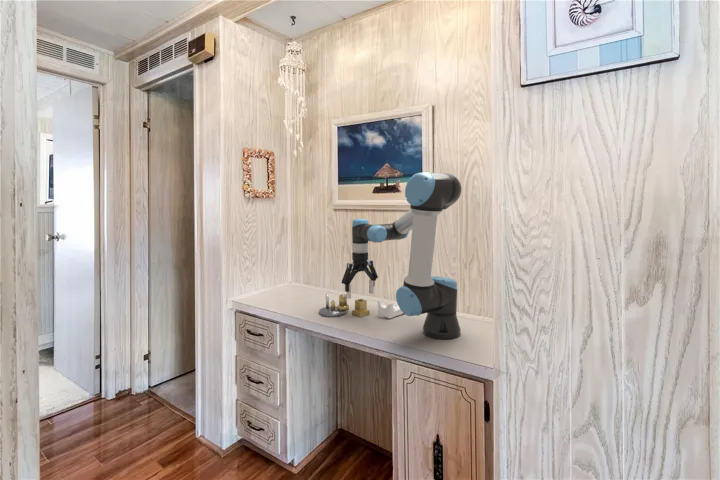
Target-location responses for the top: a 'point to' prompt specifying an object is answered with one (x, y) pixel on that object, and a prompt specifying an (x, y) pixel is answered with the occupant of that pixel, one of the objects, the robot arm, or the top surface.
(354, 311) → the brass square sleeve
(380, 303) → the bracket
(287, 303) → the top surface
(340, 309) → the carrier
